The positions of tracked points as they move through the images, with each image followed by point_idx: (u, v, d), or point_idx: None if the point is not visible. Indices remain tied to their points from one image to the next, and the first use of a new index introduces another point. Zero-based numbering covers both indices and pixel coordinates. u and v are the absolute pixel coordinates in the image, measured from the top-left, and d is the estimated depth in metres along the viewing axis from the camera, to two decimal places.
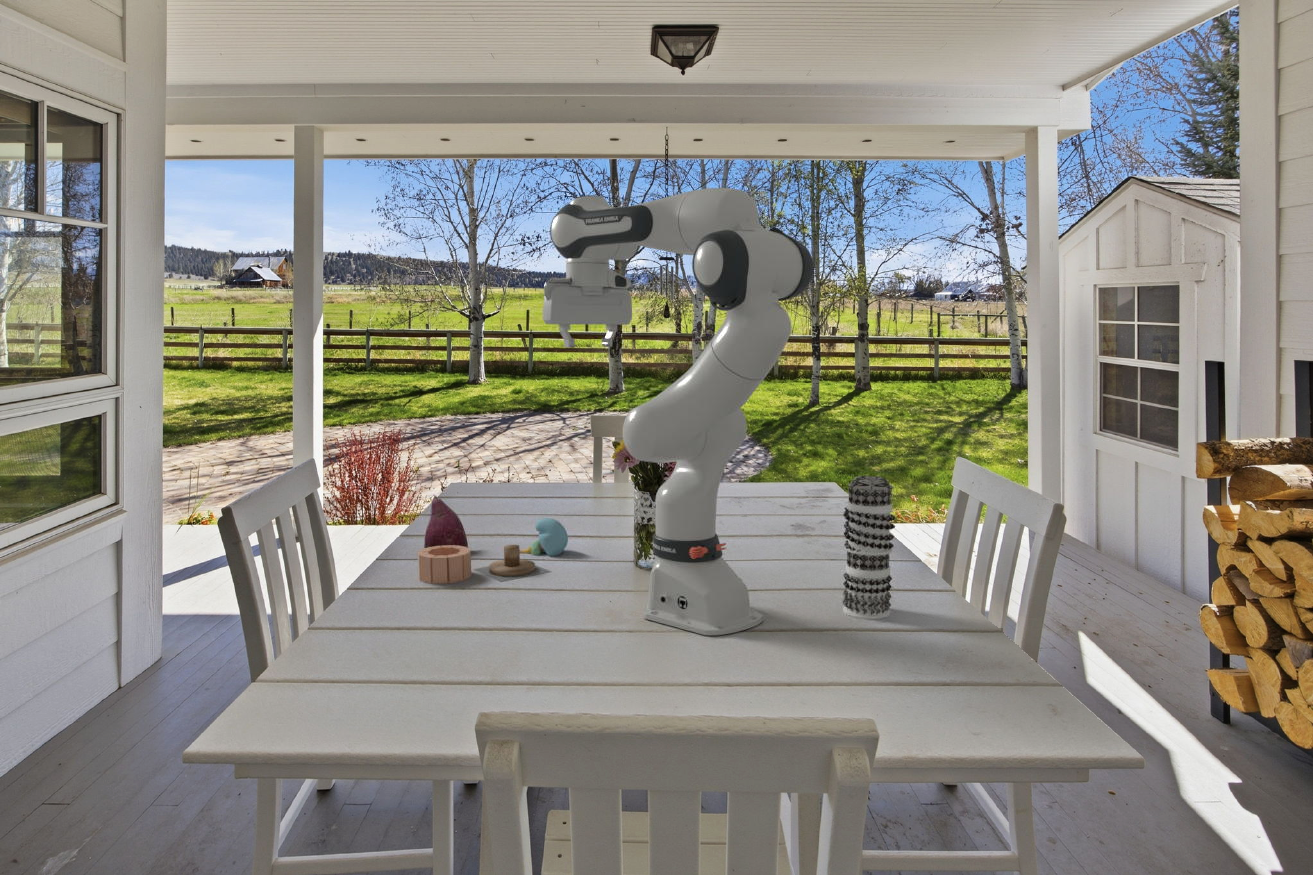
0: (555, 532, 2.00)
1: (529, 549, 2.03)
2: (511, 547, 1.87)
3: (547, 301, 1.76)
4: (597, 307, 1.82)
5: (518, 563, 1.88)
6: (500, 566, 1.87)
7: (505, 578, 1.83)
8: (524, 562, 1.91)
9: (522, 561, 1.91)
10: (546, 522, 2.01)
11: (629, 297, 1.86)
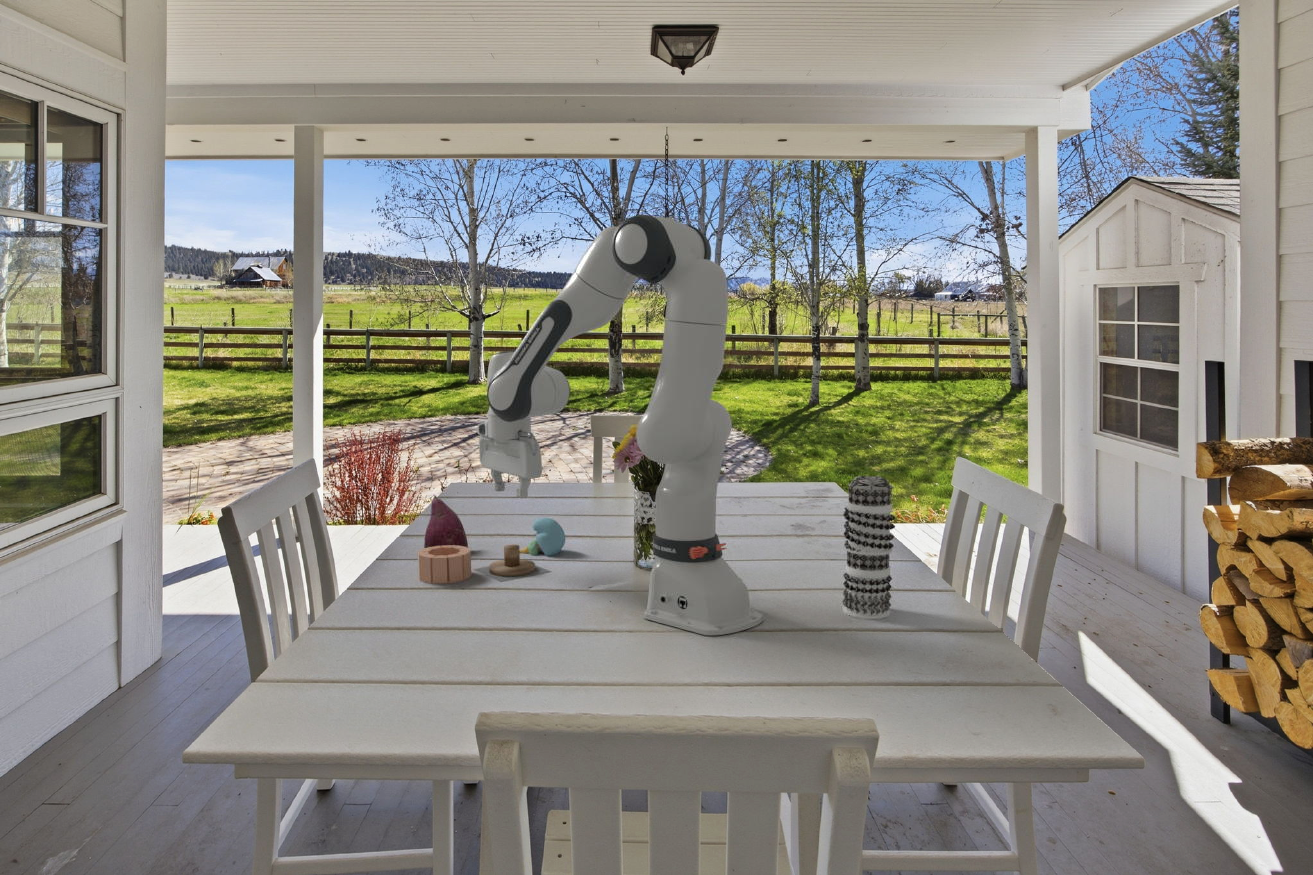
0: (553, 532, 2.00)
1: (526, 549, 2.03)
2: (511, 547, 1.87)
3: (534, 456, 1.78)
4: None
5: (518, 563, 1.88)
6: (500, 566, 1.87)
7: (505, 578, 1.83)
8: (524, 562, 1.91)
9: (522, 561, 1.91)
10: (544, 522, 2.01)
11: None
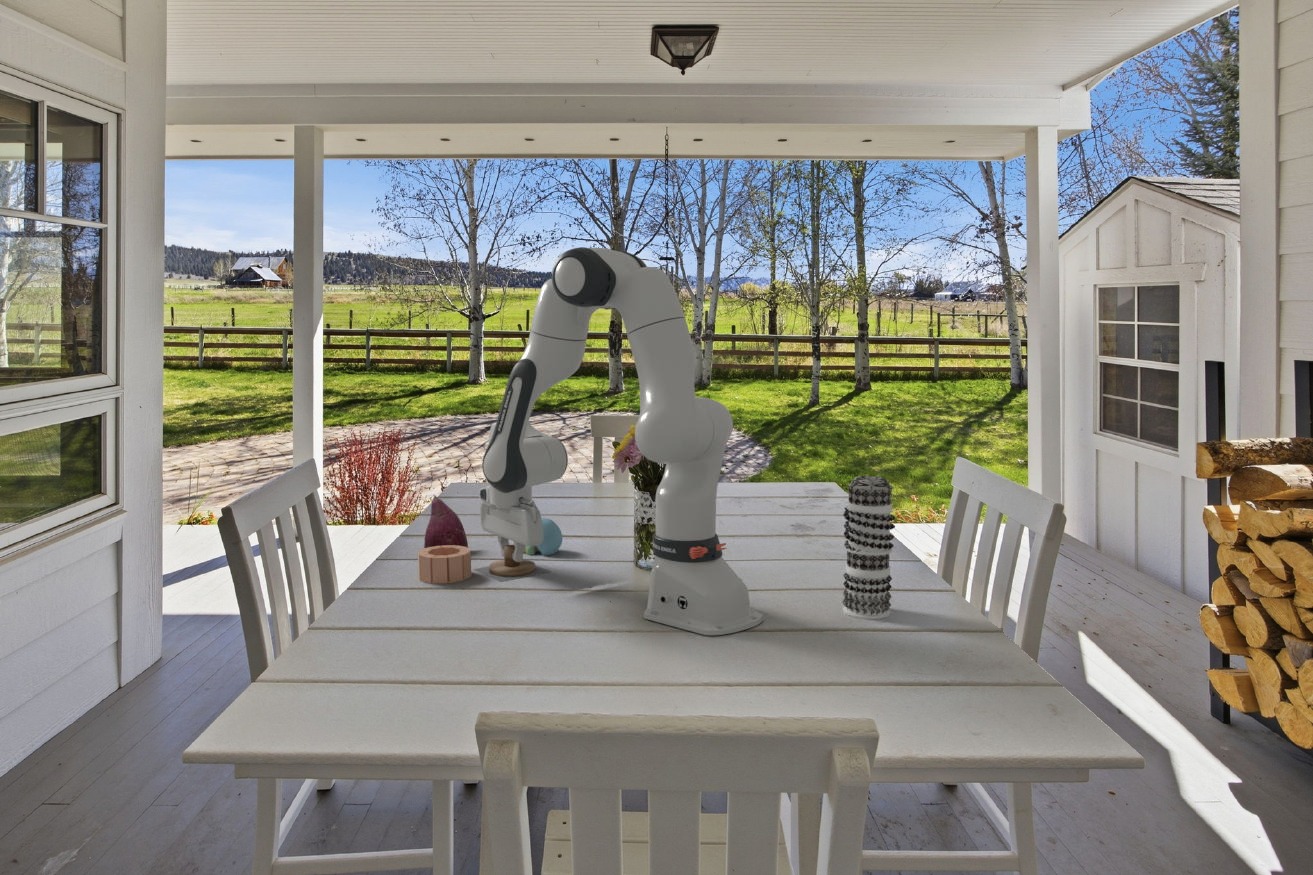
0: (550, 532, 2.01)
1: None
2: (511, 547, 1.87)
3: (535, 524, 1.80)
4: None
5: (518, 563, 1.88)
6: (500, 566, 1.87)
7: (505, 578, 1.83)
8: (524, 562, 1.91)
9: (522, 561, 1.91)
10: None
11: None
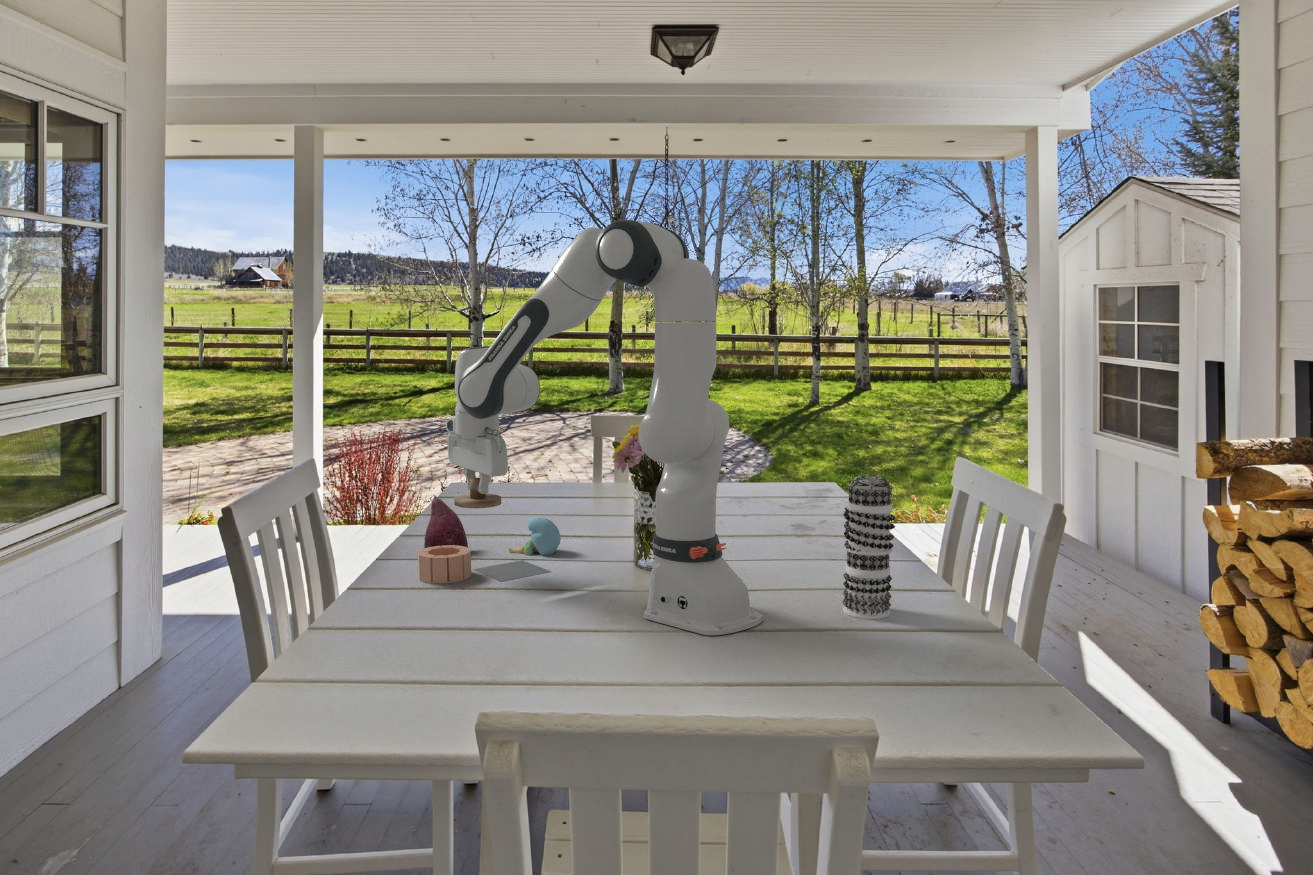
0: (548, 532, 2.01)
1: (522, 549, 2.03)
2: (477, 479, 1.84)
3: (499, 454, 1.76)
4: None
5: (484, 496, 1.85)
6: (465, 498, 1.84)
7: (505, 578, 1.83)
8: (490, 495, 1.88)
9: (489, 495, 1.88)
10: (539, 522, 2.02)
11: None
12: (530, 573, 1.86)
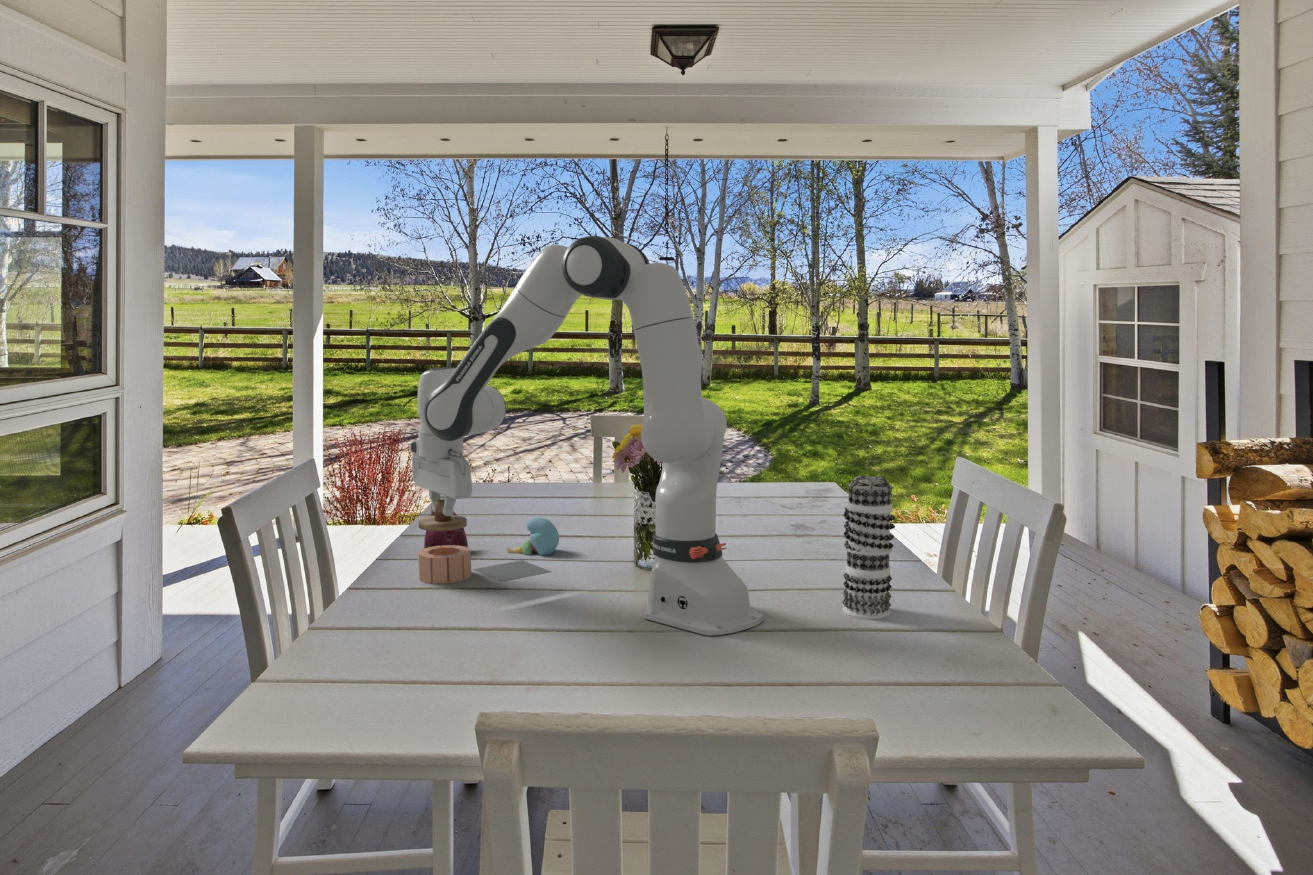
0: (547, 532, 2.01)
1: (520, 549, 2.03)
2: (441, 501, 1.82)
3: (463, 476, 1.74)
4: None
5: (449, 518, 1.82)
6: (430, 521, 1.82)
7: (505, 578, 1.83)
8: (456, 517, 1.85)
9: (454, 517, 1.86)
10: (538, 522, 2.02)
11: None
12: (530, 573, 1.86)
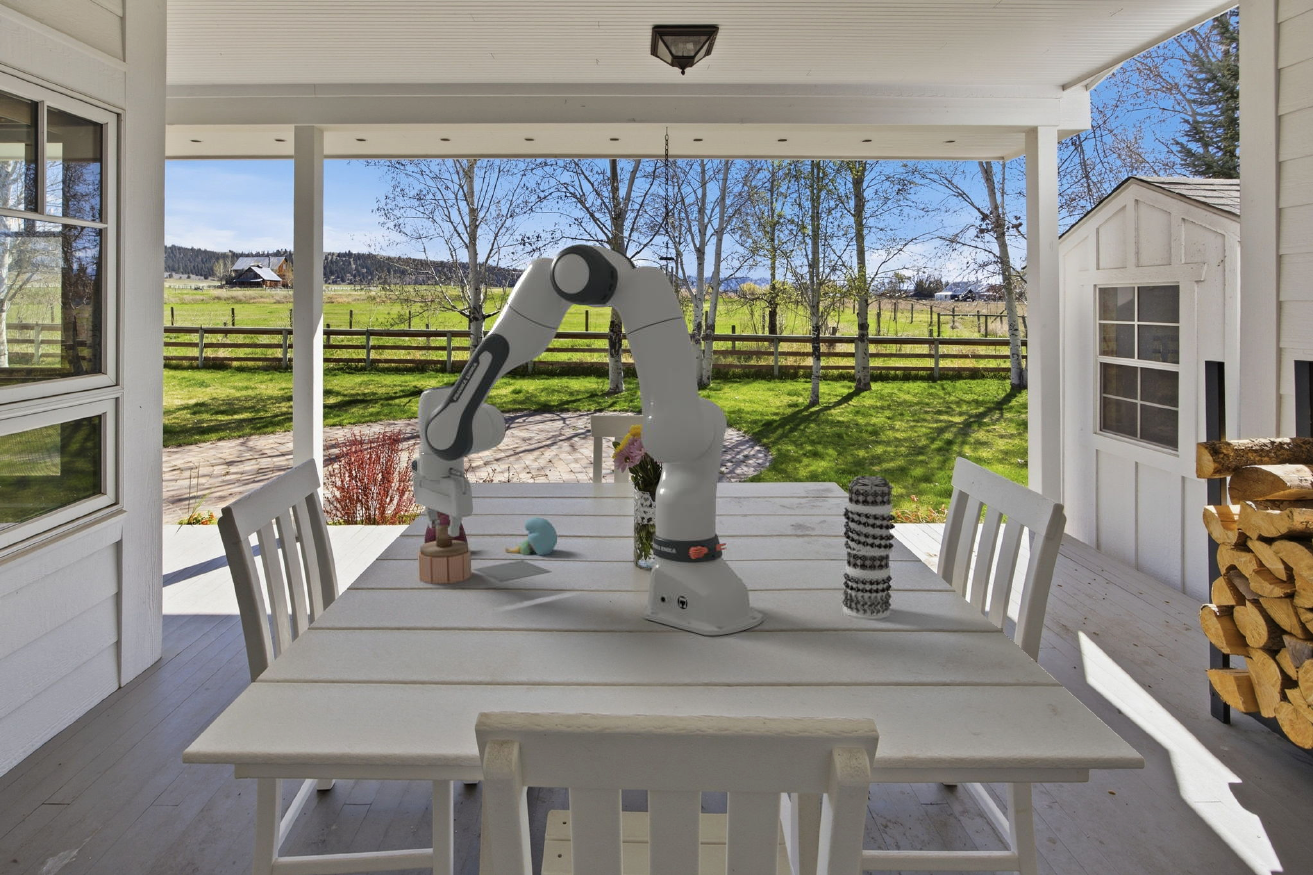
0: (545, 531, 2.01)
1: (518, 549, 2.03)
2: (443, 527, 1.82)
3: (464, 495, 1.75)
4: None
5: (450, 544, 1.83)
6: (431, 547, 1.82)
7: (505, 578, 1.83)
8: (457, 543, 1.86)
9: (456, 542, 1.86)
10: (536, 521, 2.02)
11: None
12: (530, 573, 1.86)
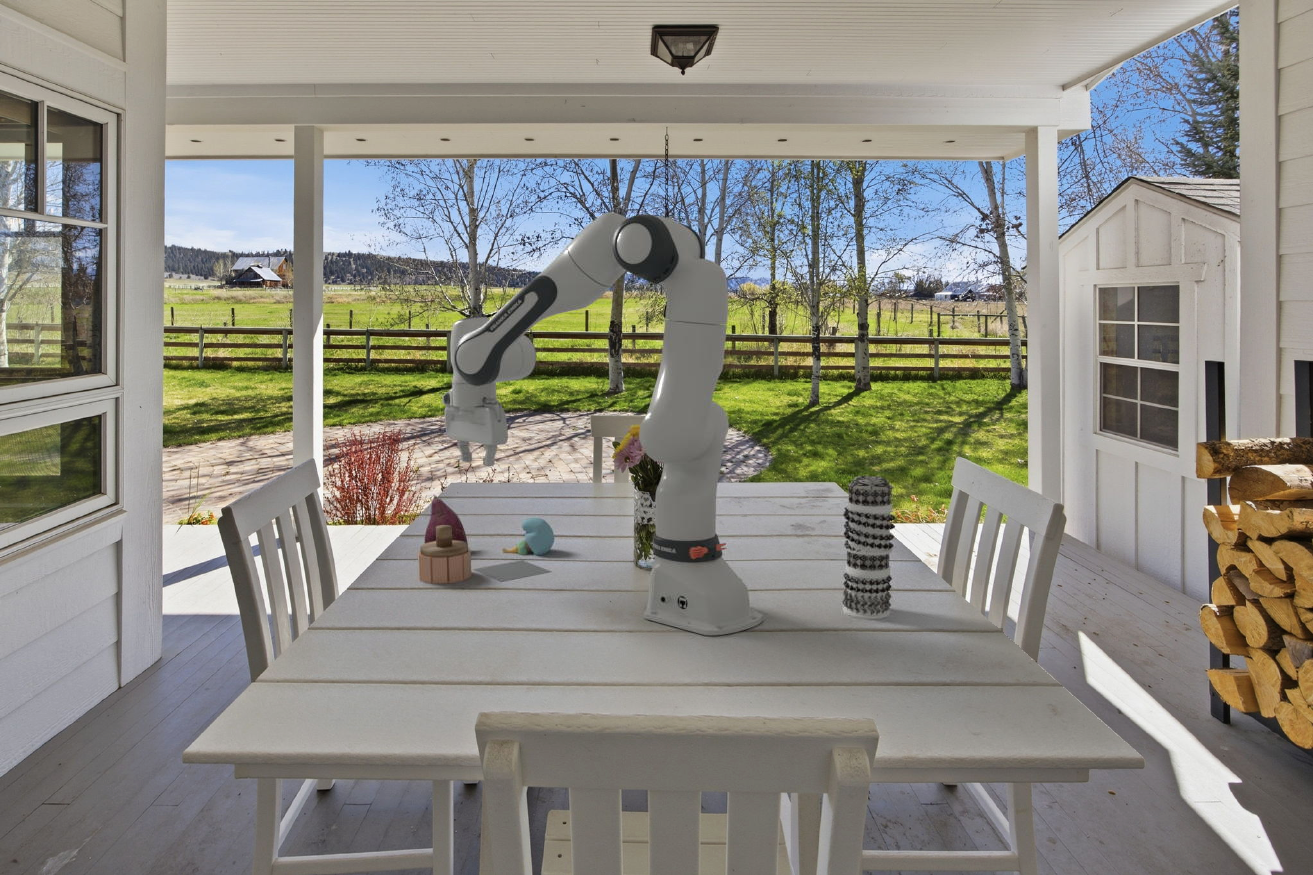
0: (543, 531, 2.01)
1: (516, 549, 2.03)
2: (443, 527, 1.82)
3: (499, 422, 1.76)
4: None
5: (450, 544, 1.83)
6: (431, 547, 1.82)
7: (505, 578, 1.83)
8: (457, 543, 1.86)
9: (456, 542, 1.86)
10: (533, 521, 2.02)
11: None
12: (530, 573, 1.86)
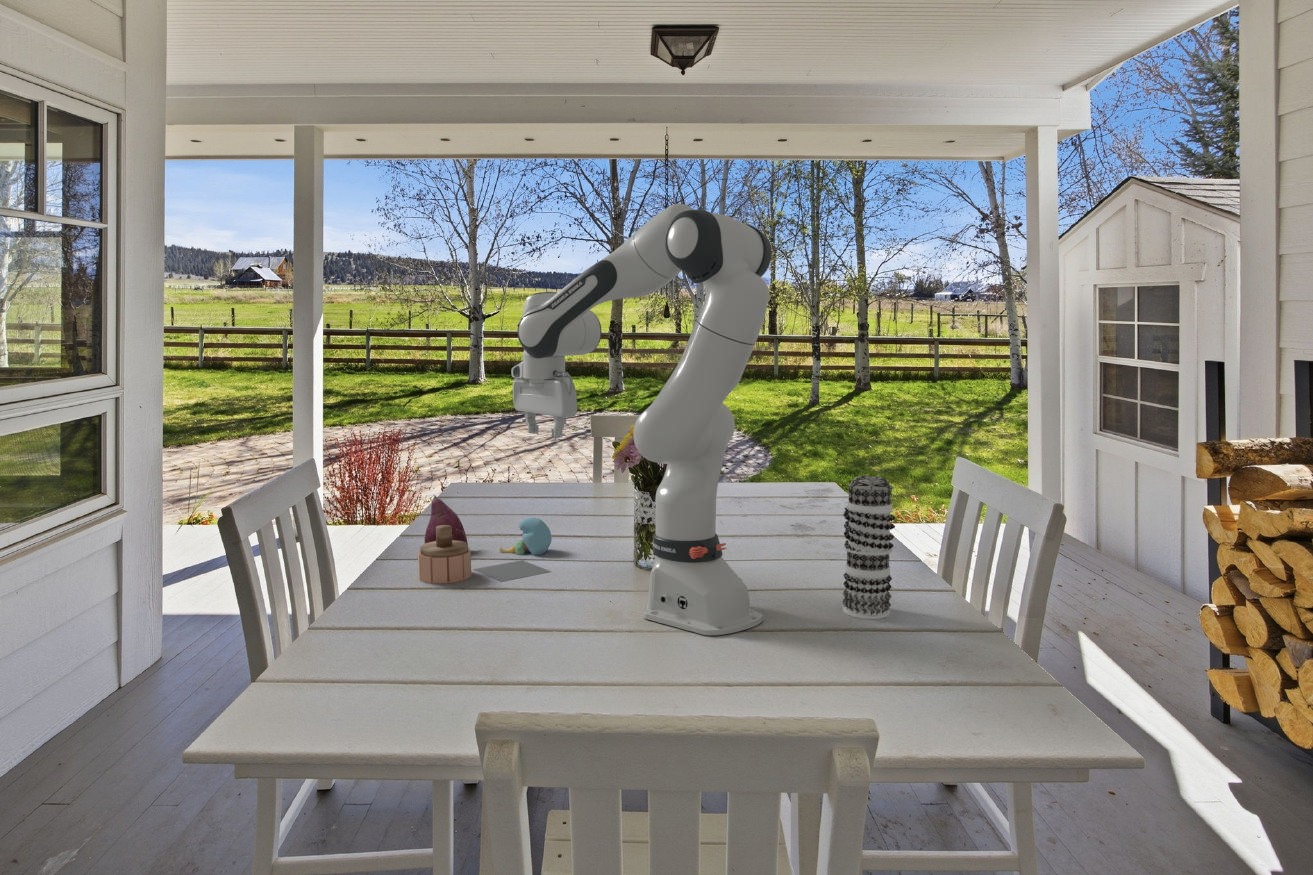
0: (540, 531, 2.01)
1: (513, 549, 2.03)
2: (443, 527, 1.82)
3: (569, 395, 1.81)
4: None
5: (450, 544, 1.83)
6: (431, 547, 1.82)
7: (505, 578, 1.83)
8: (457, 543, 1.86)
9: (456, 542, 1.86)
10: (530, 521, 2.02)
11: None
12: (530, 573, 1.86)
